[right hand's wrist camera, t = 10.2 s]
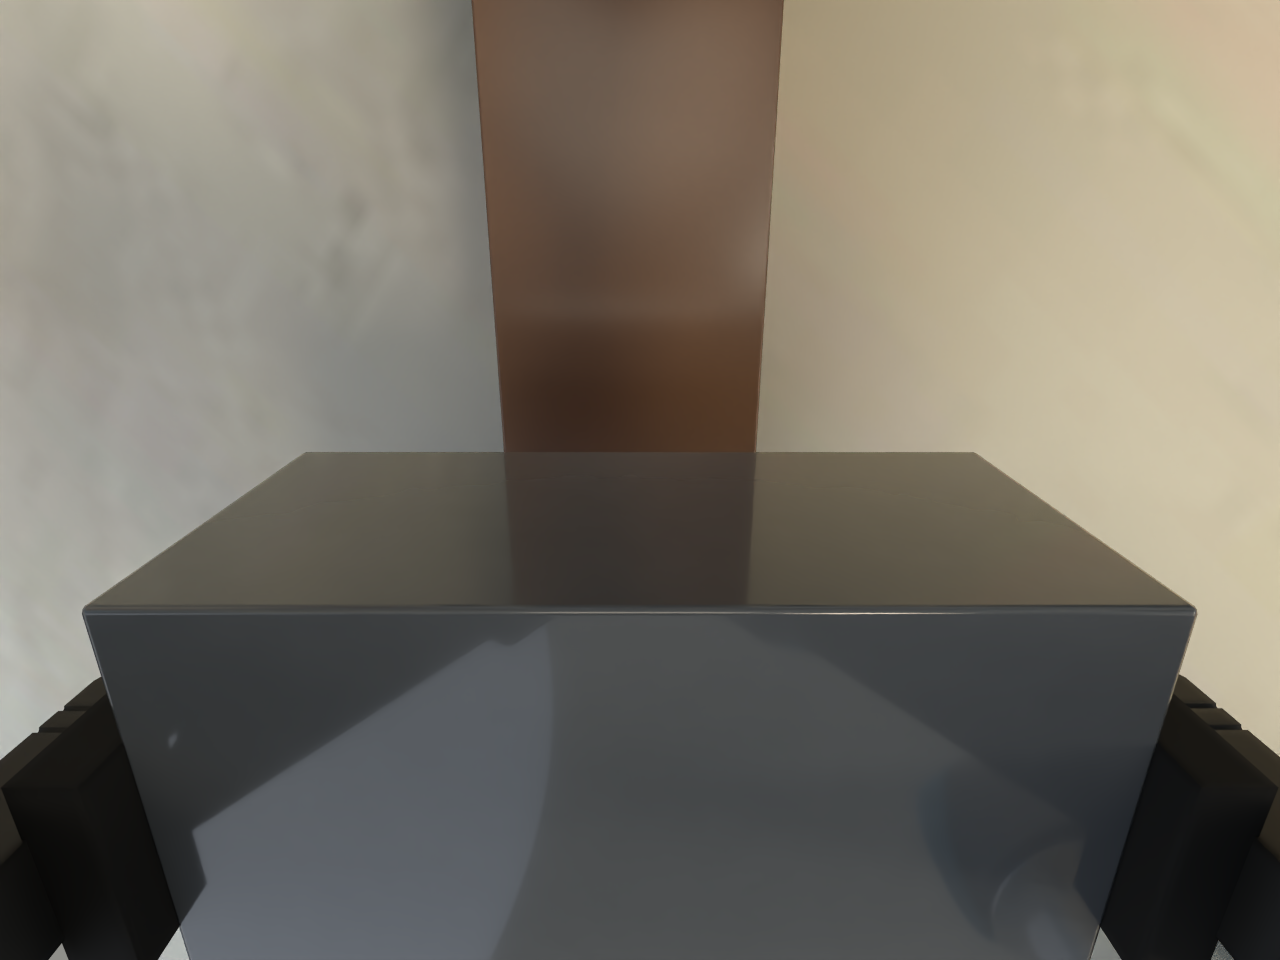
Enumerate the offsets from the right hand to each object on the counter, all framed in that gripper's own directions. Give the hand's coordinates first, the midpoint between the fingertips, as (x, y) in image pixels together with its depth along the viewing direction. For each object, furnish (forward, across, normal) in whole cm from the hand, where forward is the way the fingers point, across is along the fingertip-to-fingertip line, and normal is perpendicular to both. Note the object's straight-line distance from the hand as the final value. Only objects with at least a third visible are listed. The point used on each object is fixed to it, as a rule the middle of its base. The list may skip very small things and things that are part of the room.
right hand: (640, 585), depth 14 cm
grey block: (-1, 0, 0) cm, 1 cm away
